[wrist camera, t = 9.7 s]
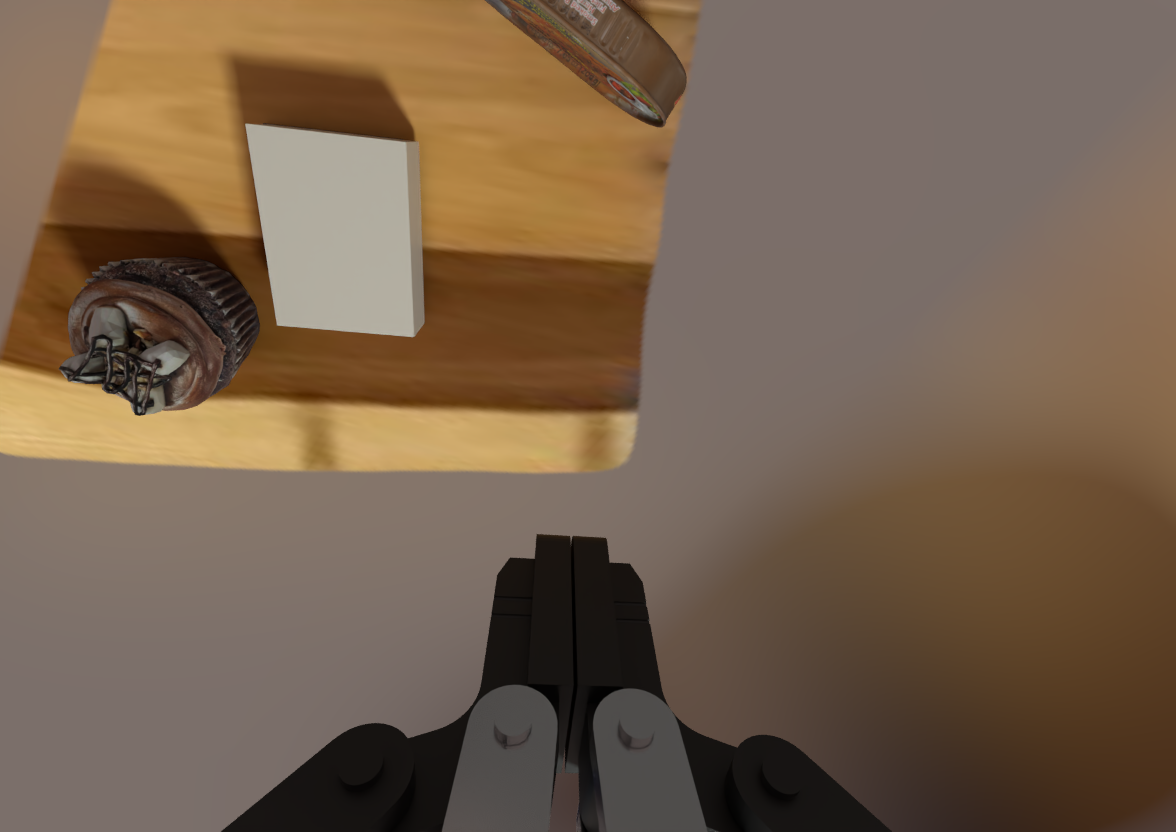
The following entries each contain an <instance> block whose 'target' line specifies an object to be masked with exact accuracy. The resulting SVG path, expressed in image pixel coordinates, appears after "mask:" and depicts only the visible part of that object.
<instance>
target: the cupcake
mask: <svg viewBox="0 0 1176 832" xmlns="http://www.w3.org/2000/svg"><path fill="white" fill-rule="evenodd" d="M108 265H109V266H99V268H100V271H98V272H92V274H93V276H94V278H91V279H86V281H85V282H86V283H88V284H89V285H87V286H86V287H81V290H82V291H81V292H80V293H79V294H78V295H77V297H76V298H75V300H74V302H73V304H72V306H71V309H70V311H69V315H68V331H69V338H70V343H71V348H72V351H73V352H74V354H75V356H73V357H70V358H69V359H67V360H66V361H64V363H63V364H62V365H61V366H60V368H59V369H60V370H61V371H62V373H63V375H64V376H65V377H66V378H67V379H68V381H72V382H74V383H85V384H101V385H102V390H104V391H105V392H106V393H109V394H115V395H117V396H119V397H121V398H124V399H126V400H128V401H129V402H130V404H131V408H132V411H133V412H134V413H135V415H138V416H140V415H146V414H154V413H157V412H160V411H161V410H164V411H172V410H185V409H188V408H192V407H195V406H198V405H199V404H201V403H202V402H203V401H205V400H206V399H208V398H209V397H210V396H212V395H214V394H215V393H217V392H218V391H220V390H221V389H223V388H225V387H227V386H228V385H229V383H230V381H231V379H232V378H233V377H234V376H235V374H236V372H237V370H238V369H239V367H240V366H241V364H242V362H243V361H244V360H245V359H246V357H247V356H248V354H249V353H250V350H251V348H252V346H253V344H254V343H255V341H256V338H257V336H258V334H259V328H260V323H259V319H258V315H257V308H256V306H255V304H254V302H253V300H252V299H251V298H250V295H249V293H248V292H247V291H246V290H245V288H244V287H243V286H242V285H241V283H239V282H238V281H237V280H236V279H235V278H234V277H233V276H232V275H231V274H230V273H229V272H227V271H224V270H222V269H220V268H219V267H217V266H216V265H214V264H212V263H210V262H208V261H205V260H201V259H193V258H187V257H171V258H141V259H132V260H120V262H108Z"/></svg>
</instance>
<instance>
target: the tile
mask: <svg viewBox="0 0 1176 832" xmlns="http://www.w3.org/2000/svg"><path fill="white" fill-rule="evenodd" d="M245 126H246V132H247V138H248V144H249V151H250V157H251V163H252V170H253V176H254V182H255V189H256V195H257V201H258V208H259V214H260V220H261V227H262V233H263V239H264V246H265V252H266V258H267V264H268V271H269V277H270V283H271V290H272V296H273V302H274V309H275V315H276V321H277V325H279V326H291V327H302V328H314V329H326V330H338V331H349V332H361V333H373V334H385V335H396V336H408V337H414V336H415V335H416V334H417V332H418V331H419V330H420V328H421V327H422V326H423V324H424V323H425V322H424V290H423V258H422V226H421V194H420V162H419V142H418V141H409V140H401V139H392V138H383V137H375V136H366V135H357V134H349V133H340V132H331V131H323V130H314V129H305V128H297V127H288V126H279V125H269V124H245Z"/></svg>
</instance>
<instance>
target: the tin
mask: <svg viewBox="0 0 1176 832" xmlns="http://www.w3.org/2000/svg"><path fill="white" fill-rule="evenodd" d="M485 1H486V2H487V3H489V4H490V5H491V6H492V7H494V8H495V9H496V10H497V11H498V12H499V13H500V14H502V15H503V16H504V17H505V18H507V19H508V20H509V21H510V22H511V23H513V24H514V25H515V26H517V27H518V28H519V29H520V30H521V31H523V32H524V33H525V34H526V35H528V36H529V37H530V38H532V39H533V40H534V41H535V42H536V43H538V44H539V45H540V46H542V47H543V48H544V49H545V50H546V51H548V52H549V53H550V54H551V55H553V56H554V57H555V58H556V59H558V60H559V61H560V62H561V63H563V64H564V65H565V66H566V67H568V68H569V69H570V70H571V71H572V72H574V73H575V74H576V75H577V76H579V77H580V78H581V79H582V80H584V81H585V82H586V83H587V84H589V85H590V86H591V87H592V88H594V89H595V90H596V91H597V92H599V93H600V94H601V95H603V96H604V97H605V98H606V99H608V100H609V101H611V102H612V103H614V104H615V105H616V106H618V107H619V108H621V109H622V110H624V111H625V112H627V113H628V114H630V115H631V116H633V117H635V118H637V119H639V120H640V121H642V122H645V123H647V124H649V125H652V126H655V127H663V126H664V125H665V124H666V119H667V118H668V116H669V114H670V113H671V111H672V110H673V108H674V107H675V105H676V104H677V102H678V101H679V99H680V97H681V96H682V94H683V92H684V90H685V87H686V73H685V70H684V68H683V66H682V64H681V62H680V60H679V59H678V57H677V56H676V54H675V53H674V51H673V50H672V49H671V47H670V46H669V45H668V44H667V43H666V42H665V40H664V39H663V38H662V37H661V36H660V35H659V34H658V33H657V32H656V31H655V30H654V29H653V28H652V27H651V26H650V25H649V24H648V23H647V22H646V21H645V20H644V19H643V18H642V17H641V16H639V15H638V14H637V13H636V12H635V11H634V10H633V9H631V8H630V7H629V6H628V5H627V4H626V3H625V2H624V1H623V0H485Z"/></svg>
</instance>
